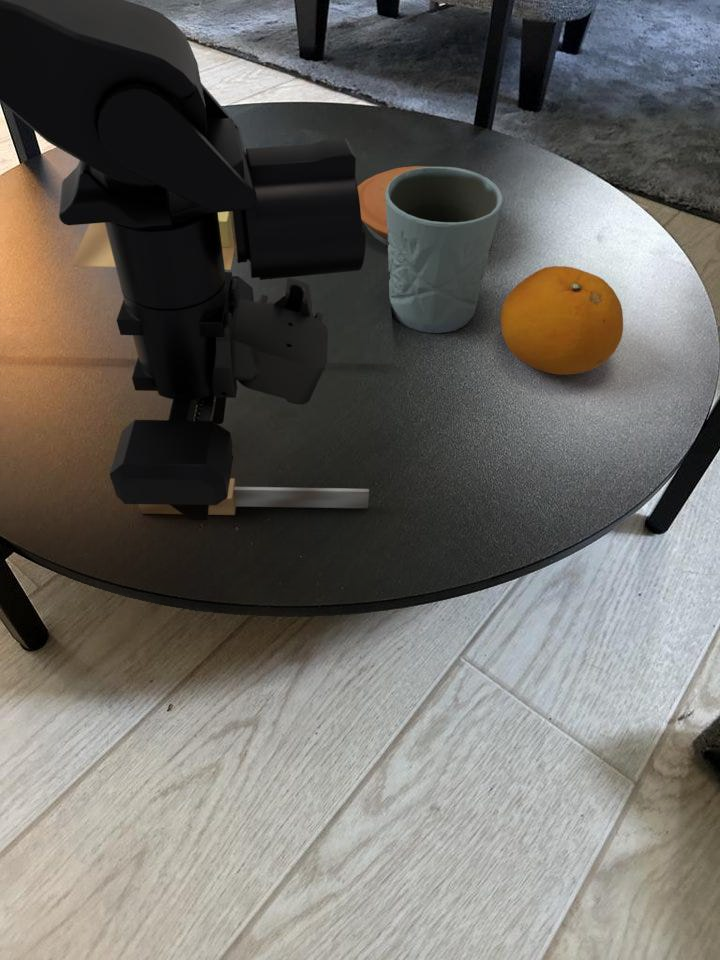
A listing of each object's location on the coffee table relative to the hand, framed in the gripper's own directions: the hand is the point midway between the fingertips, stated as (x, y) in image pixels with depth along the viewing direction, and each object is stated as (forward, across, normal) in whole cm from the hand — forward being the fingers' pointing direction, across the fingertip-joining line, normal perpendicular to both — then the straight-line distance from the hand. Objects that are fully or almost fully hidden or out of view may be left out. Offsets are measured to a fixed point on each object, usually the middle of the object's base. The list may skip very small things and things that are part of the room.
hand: (208, 467), depth 52 cm
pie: (+4, +40, -18) cm, 44 cm away
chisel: (+4, 0, -3) cm, 5 cm away
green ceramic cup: (+4, +26, -18) cm, 32 cm away
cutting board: (+4, +36, +10) cm, 37 cm away
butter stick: (+3, +36, +6) cm, 36 cm away
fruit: (+4, +18, -29) cm, 35 cm away
